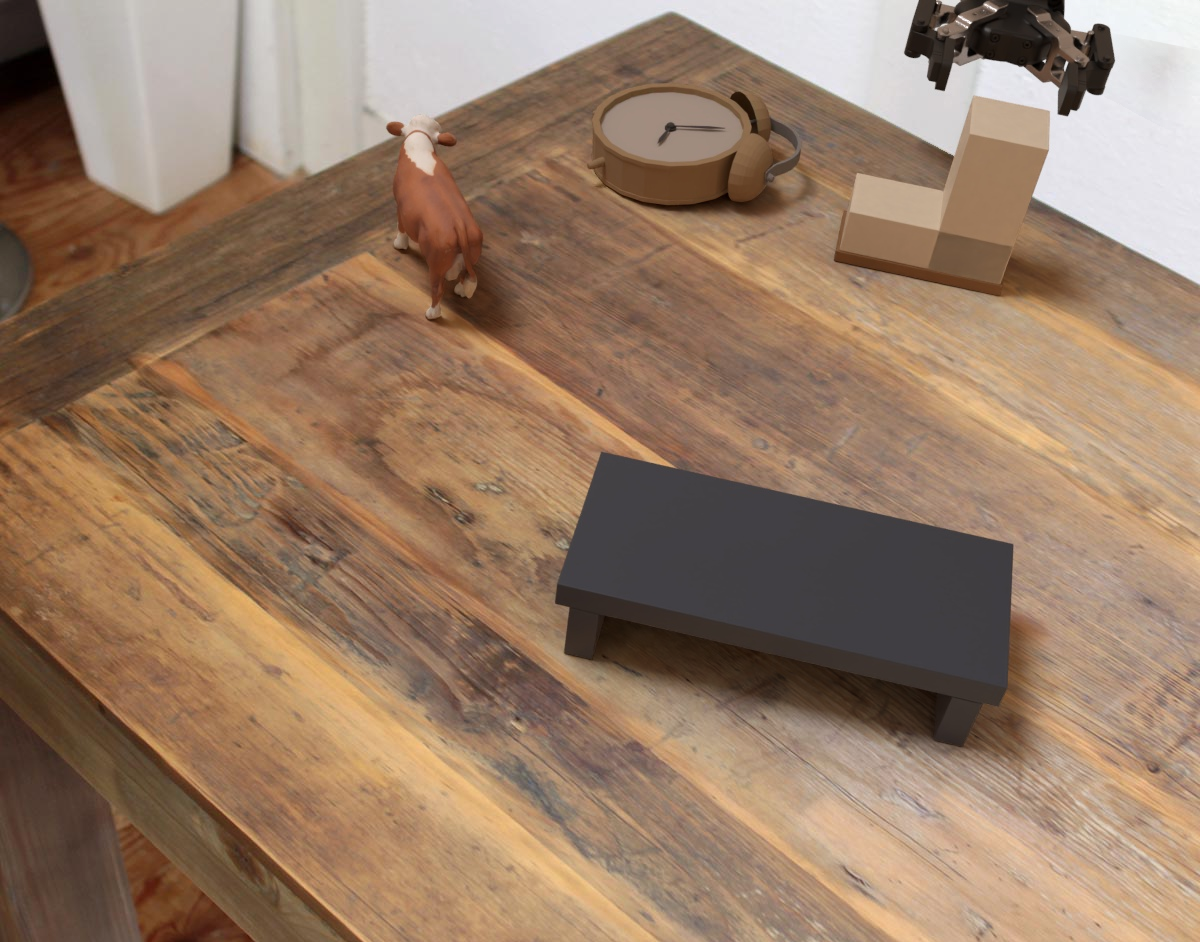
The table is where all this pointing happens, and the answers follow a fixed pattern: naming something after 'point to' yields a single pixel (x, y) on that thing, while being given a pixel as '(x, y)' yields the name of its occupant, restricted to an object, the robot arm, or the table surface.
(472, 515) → the table surface
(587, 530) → the dark grey low platform
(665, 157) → the alarm clock
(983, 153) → the boot
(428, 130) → the bull figurine
